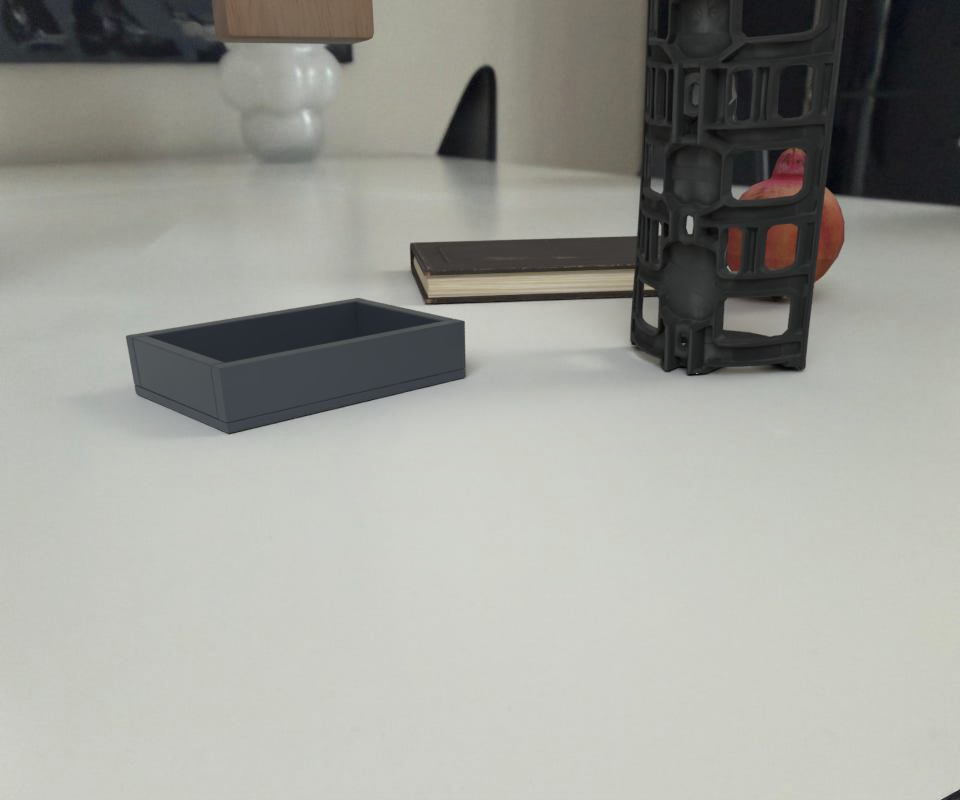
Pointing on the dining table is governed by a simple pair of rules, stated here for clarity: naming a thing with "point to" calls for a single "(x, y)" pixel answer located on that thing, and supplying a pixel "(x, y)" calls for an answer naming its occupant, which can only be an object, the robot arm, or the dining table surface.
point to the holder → (727, 182)
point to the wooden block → (293, 21)
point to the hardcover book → (526, 269)
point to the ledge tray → (295, 361)
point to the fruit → (785, 236)
